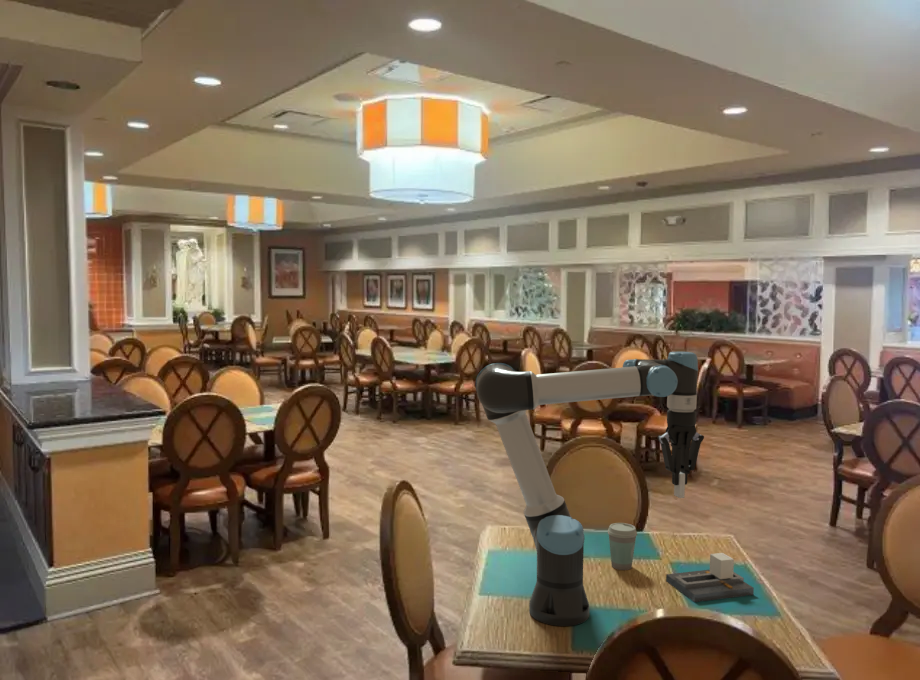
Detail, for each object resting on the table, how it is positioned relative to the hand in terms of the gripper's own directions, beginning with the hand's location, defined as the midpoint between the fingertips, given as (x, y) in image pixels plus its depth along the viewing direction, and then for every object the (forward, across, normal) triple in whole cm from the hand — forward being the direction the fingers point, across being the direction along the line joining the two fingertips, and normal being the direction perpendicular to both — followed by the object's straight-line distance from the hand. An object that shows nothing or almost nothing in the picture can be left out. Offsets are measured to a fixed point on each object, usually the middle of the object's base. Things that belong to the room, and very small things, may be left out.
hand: (679, 496), depth 195 cm
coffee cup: (+27, -6, +20) cm, 34 cm away
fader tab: (+24, +14, 0) cm, 28 cm away
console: (+26, +10, 0) cm, 28 cm away
